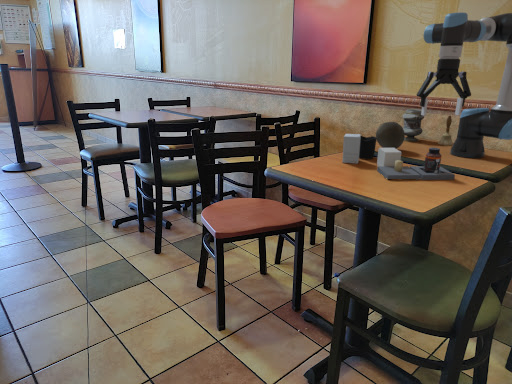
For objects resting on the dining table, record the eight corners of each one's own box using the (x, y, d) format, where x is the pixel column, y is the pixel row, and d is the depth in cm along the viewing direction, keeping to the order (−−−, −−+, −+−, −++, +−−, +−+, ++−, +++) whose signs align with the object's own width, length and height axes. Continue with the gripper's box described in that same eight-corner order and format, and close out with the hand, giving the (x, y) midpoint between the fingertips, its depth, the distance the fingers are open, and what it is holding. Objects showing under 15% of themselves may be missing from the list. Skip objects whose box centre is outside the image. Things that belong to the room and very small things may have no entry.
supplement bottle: (440, 177, 152) (444, 150, 148) (424, 176, 153) (428, 149, 149) (436, 173, 157) (440, 147, 154) (421, 172, 158) (425, 146, 155)
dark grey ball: (382, 146, 208) (385, 119, 203) (407, 149, 199) (410, 121, 194) (369, 150, 198) (372, 122, 193) (395, 154, 189) (399, 125, 184)
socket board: (439, 170, 161) (439, 166, 161) (454, 179, 149) (455, 174, 148) (409, 170, 161) (409, 166, 161) (421, 179, 149) (422, 174, 148)
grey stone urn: (402, 137, 231) (406, 108, 225) (423, 139, 224) (427, 109, 218) (397, 140, 222) (400, 110, 216) (418, 143, 215) (422, 111, 209)
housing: (376, 164, 171) (378, 147, 168) (392, 164, 171) (394, 147, 168) (383, 170, 162) (385, 152, 159) (399, 170, 162) (401, 152, 159)
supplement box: (359, 160, 179) (361, 134, 175) (357, 164, 172) (360, 137, 168) (343, 159, 181) (345, 133, 177) (341, 162, 175) (343, 136, 170)
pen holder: (365, 160, 178) (367, 140, 175) (350, 156, 186) (352, 136, 182) (378, 157, 183) (380, 137, 180) (363, 154, 190) (365, 134, 187)
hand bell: (446, 145, 208) (451, 117, 202) (434, 143, 215) (438, 115, 210) (457, 144, 211) (462, 116, 205) (444, 141, 218) (449, 114, 213)
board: (406, 170, 161) (408, 157, 159) (419, 179, 149) (421, 165, 147) (377, 170, 161) (378, 157, 159) (387, 179, 149) (388, 165, 147)
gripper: (420, 58, 136) (412, 116, 143) (488, 58, 136) (477, 116, 143) (412, 58, 143) (405, 114, 150) (476, 58, 143) (466, 113, 150)
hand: (440, 115), depth 147 cm, fingers open, 13 cm apart
